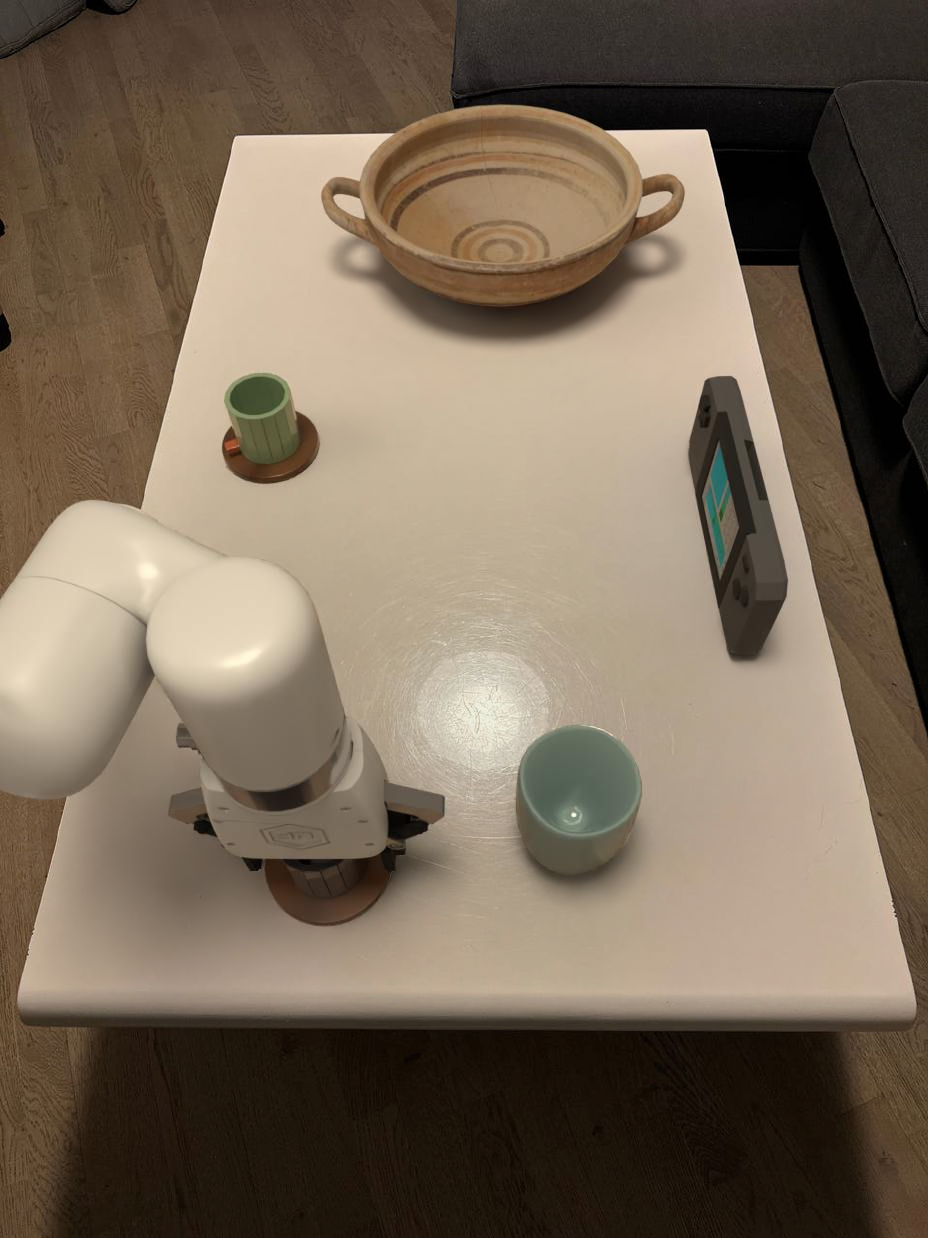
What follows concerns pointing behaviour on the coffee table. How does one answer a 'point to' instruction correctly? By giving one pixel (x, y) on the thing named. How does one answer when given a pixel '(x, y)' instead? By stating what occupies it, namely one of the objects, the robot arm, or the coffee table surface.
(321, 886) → the dark bucket
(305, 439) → the brown dish
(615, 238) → the ceramic bowl
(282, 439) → the green grooved mug
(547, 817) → the cup
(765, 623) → the handheld gaming console
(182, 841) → the coffee table surface
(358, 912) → the dark base
